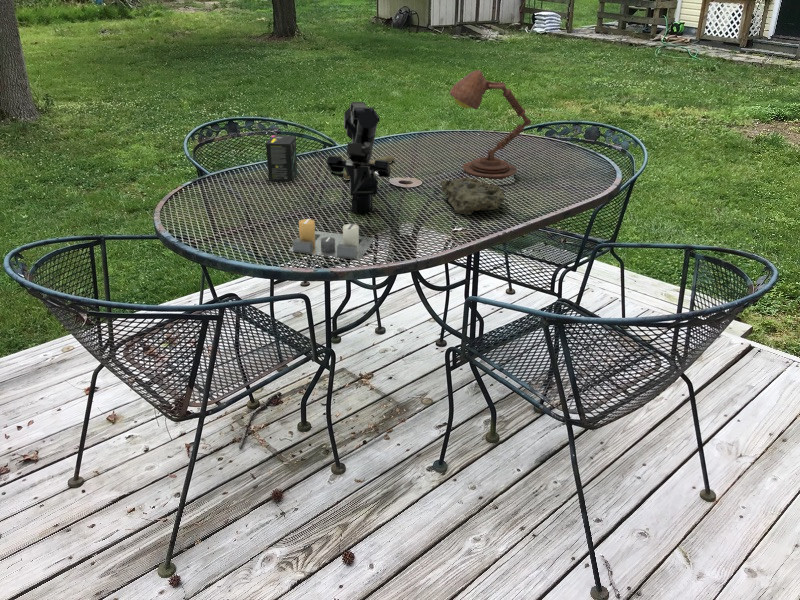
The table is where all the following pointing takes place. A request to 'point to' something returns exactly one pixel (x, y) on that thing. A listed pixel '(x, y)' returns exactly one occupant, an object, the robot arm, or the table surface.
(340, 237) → the console plate
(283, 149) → the tampon box
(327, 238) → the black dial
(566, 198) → the table surface
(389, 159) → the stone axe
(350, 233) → the cream knob
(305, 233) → the orange knob
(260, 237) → the table surface
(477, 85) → the desk lamp
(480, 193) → the stone
